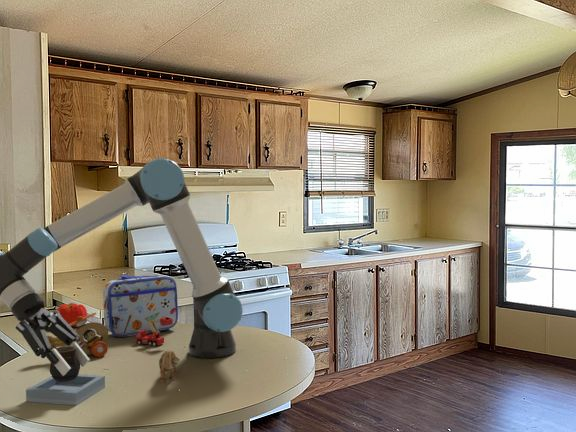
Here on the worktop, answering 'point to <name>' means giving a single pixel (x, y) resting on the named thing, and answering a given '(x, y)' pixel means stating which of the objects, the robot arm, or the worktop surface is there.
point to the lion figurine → (168, 364)
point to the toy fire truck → (154, 337)
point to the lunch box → (139, 303)
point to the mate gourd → (72, 361)
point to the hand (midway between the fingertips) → (76, 367)
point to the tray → (65, 390)
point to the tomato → (72, 312)
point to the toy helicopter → (87, 337)
